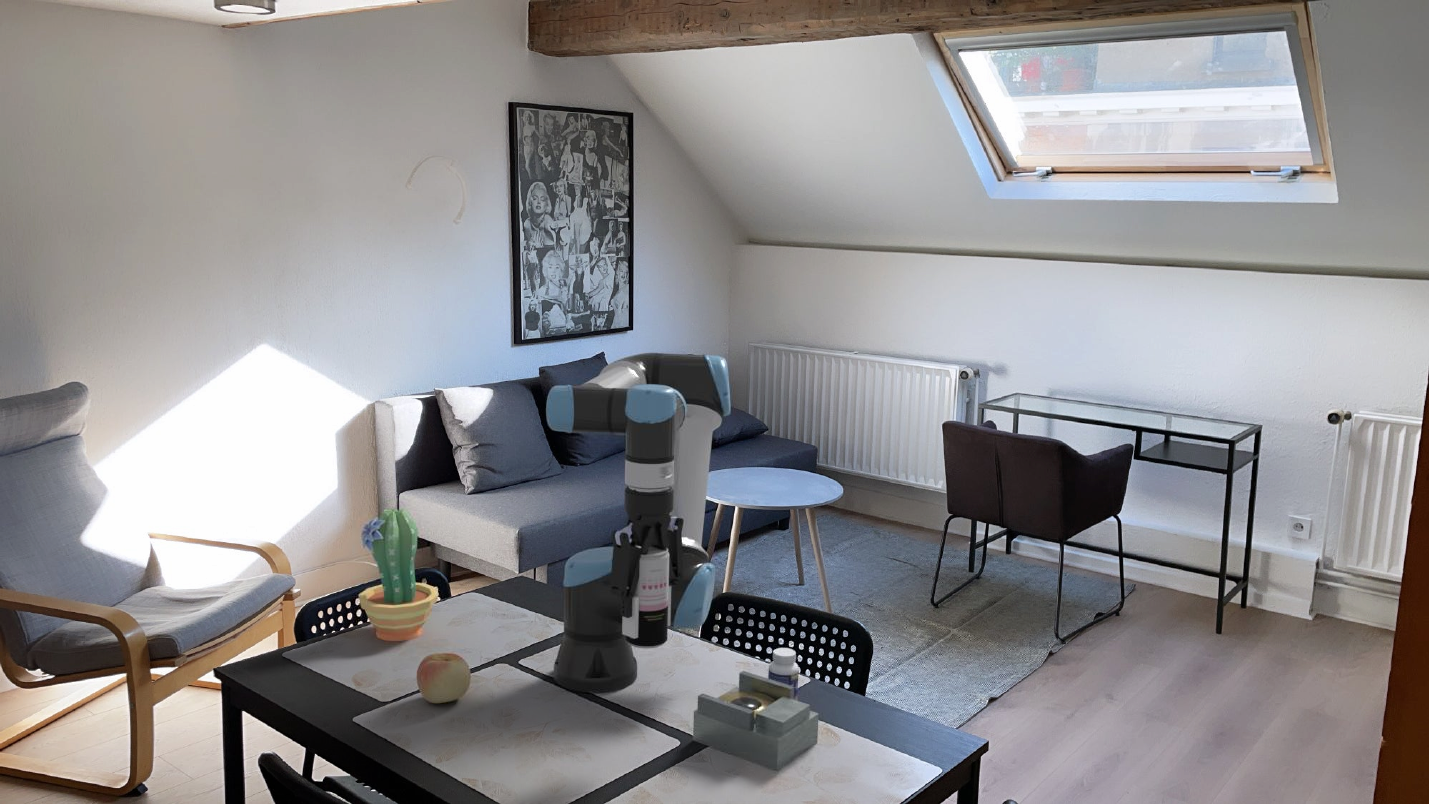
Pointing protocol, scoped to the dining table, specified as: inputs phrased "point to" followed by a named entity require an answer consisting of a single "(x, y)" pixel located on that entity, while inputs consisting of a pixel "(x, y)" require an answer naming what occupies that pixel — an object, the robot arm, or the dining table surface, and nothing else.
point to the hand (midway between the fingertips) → (646, 629)
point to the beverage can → (652, 599)
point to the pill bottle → (785, 668)
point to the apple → (443, 677)
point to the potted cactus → (395, 578)
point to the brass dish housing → (757, 722)
